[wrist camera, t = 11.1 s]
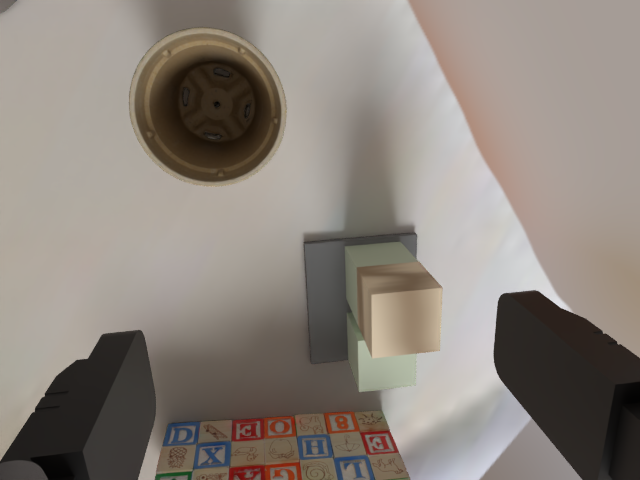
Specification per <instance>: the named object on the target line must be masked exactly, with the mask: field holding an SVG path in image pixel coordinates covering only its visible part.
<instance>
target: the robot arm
mask: <svg viewBox="0 0 640 480" xmlns="http://www.w3.org/2000/svg"><path fill="white" fill-rule="evenodd" d="M16 1H17V0H0V13H2V12H4V11H6V10H7V9H8V8H9V7H10V6H11V5H12V4H14V3H15V2H16ZM494 363H495V367H496V371H497V373H498V375H499V377H500V379H501V381H502V382H503V383H504V384H505V386H506V387H507V388H508V389H509V390H510V392H511V393H512V394H513V395H514V397H515V398H516V399H517V400H518V401H519V403H520V404H521V405H522V406H523V408H524V409H525V410H526V411H527V412H528V414H529V415H530V416H531V417H532V419H533V420H534V421H535V422H536V423H537V425H538V426H539V427H540V428H541V430H542V431H543V432H544V433H545V434H546V436H547V437H548V438H549V439H550V441H551V442H552V443H553V444H554V445H555V447H556V448H557V449H558V450H559V451H560V453H561V454H562V455H563V456H564V457H565V459H566V460H567V461H568V462H569V464H570V465H571V466H572V467H573V469H574V470H575V471H576V472H577V474H578V475H579V476H580V477H581V478H582V480H640V358H639V357H637V356H636V355H635V354H633V353H632V352H631V351H629V350H628V349H626V348H625V347H623V346H622V345H621V344H620V345H618V344H617V341H615V340H614V339H613V338H611V337H610V336H609V335H607V334H603V332H602V330H600V329H599V328H598V327H596V326H595V325H593V324H592V323H591V322H589V321H588V320H587V319H585V318H583V317H580V316H578V315H576V314H573V313H571V312H569V311H566V310H564V309H561V308H560V307H559V306H557V305H556V304H555V303H553V302H552V301H551V300H549V299H548V298H547V297H545V296H544V295H543V294H541V293H540V292H538V291H536V290H533V291H523V292H514V293H504V294H502V295H501V296H500V298H499V301H498V307H497V318H496V330H495V342H494ZM155 414H156V397H155V389H154V384H153V379H152V373H151V368H150V363H149V357H148V352H147V347H146V342H145V337H144V335H143V333H142V331H141V330H135V331H126V332H116V333H106V334H103V335H102V336H101V337H100V339H99V341H98V342H97V344H96V346H95V348H94V349H93V351H92V353H91V354H90V356H89V358H88V359H82V360H76V361H75V362H74V363H72V364H71V365H70V366H69V367H67V368H66V369H65V370H64V371H62V372H61V373H60V374H58V375H57V376H56V377H55V379H54V380H53V382H52V384H51V385H50V387H49V388H48V390H47V391H46V393H45V397H42V399H41V400H40V402H39V403H38V405H37V406H36V408H35V412H33V413H32V414H31V415H30V417H29V418H28V420H27V421H26V423H25V425H24V426H23V428H22V429H21V431H20V432H19V434H18V435H17V437H16V438H15V440H14V441H13V443H12V444H11V446H10V447H9V449H8V450H7V452H6V453H5V455H4V456H3V458H2V459H1V461H0V480H138V477H139V473H140V470H141V467H142V463H143V460H144V456H145V453H146V449H147V446H148V442H149V439H150V435H151V432H152V428H153V425H154V421H155Z"/></svg>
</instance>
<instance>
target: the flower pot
mask: <svg viewBox="0 0 640 480" xmlns="http://www.w3.org/2000/svg"><path fill="white" fill-rule="evenodd" d="M216 68H220V69H223V70H225V71H228V72H229V73H230V75H229V77H224V76H221V75H217V74H216V75H215V74H214V69H216ZM185 88H187V89H188V90H189V95H188V103H187V105H184V102H183V91H184V89H185ZM215 102H219V104H220V105H219V107H215V105H214V103H215ZM247 104H250V110H249V115H248V117H247V118H245V111H244V109H246V106H247ZM129 111H130V118H131V122H132V126H133V129H134V132H135V134H136V136H137V138H138V140H139V143H140V144H141V146H142V148H143V149H144V151H145V152H146V153H147V155H148V156H149V157H150V158H151V159H152V160H153V162H155V164H157V165H158V166H159V167H160V168H161V169H162V170H163V171H165V172H167V173H168V174H170V175H171V176H173V177H175V178H177V179H179V180H181V181H184V182H187V183H191V184H194V185H200V186H211V187H212V186H215V187H217V186H226V185H231V184H235V183H238V182H241V181H243V180H246V179H248V178H249V177H251V176H252V175H254V174H256V173H257V172H258V171H260V170H261V169H262V168H263V167H264V166H265V165H266V164H267V163H268V162H269V161H270V160H271V158H272V157H273V156H274V154H275V152H276V151H277V149H278V147H279V145H280V143H281V140H282V138H283V135H284V130H285V126H286V112H287V109H286V99H285V94H284V90H283V87H282V84H281V82H280V79H279V77H278V75H277V73H276V71H275V70H274V68H273V66H272V65H271V63H270V62H269V61H268V59H267V58H266V57H265V56H264V55H263V54H262V53H261V52H260V51H259V50H258V49H257V48H256V47H255V46H253V45H252V44H251V43H249V42H248V41H246V40H245V39H243V38H241V37H239V36H237V35H235V34H233V33H230V32H227V31H224V30H221V29H215V28H207V27H198V28H190V29H185V30H181V31H177V32H175V33H172V34H171V35H168V36H166V37H164V38H163V39H161V40H160V41H158V42H157V43H156V44H155V45H153V46H152V47H151V48H150V49H149V50H148V51H147V53H146V54H145V55H144V57H143V58H142V59H141V60H140V62H139V64H138V66H137V68H136V71H135V73H134V76H133V79H132V83H131V87H130V94H129ZM206 132H207V133H212V134H218V135H221V138H220V139H210V138H208V137H206V136H205V133H206Z"/></svg>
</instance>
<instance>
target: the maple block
mask: <svg viewBox="0 0 640 480" xmlns="http://www.w3.org/2000/svg"><path fill="white" fill-rule="evenodd" d="M442 289H443V288H442V287H441V285H440V284H439V283H438V282H437V281H436V280H435V279H434V278H433V277H432V275H431V274H430V273H429V272H428V271H427V270H426V269H425V268H424V267H423V265H422V264H421V263H420V262H409V263H398V264H387V265H376V266H365V267H357V315H358V326H359V329H360V331H361V333H362V336H363V338H364V341H365V343H366V345H367V348H368V350H369V352H370V355H371V357H372V358H381V357H390V356H398V355H407V354H416V353H425V352H434V351H440V334H441V312H442Z"/></svg>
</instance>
